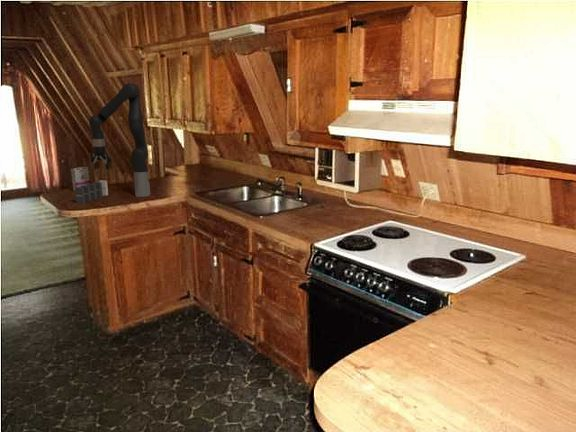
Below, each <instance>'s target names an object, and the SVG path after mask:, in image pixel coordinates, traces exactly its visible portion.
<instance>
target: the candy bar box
mask: <svg viewBox="0 0 576 432" xmlns="http://www.w3.org/2000/svg"><path fill="white" fill-rule="evenodd" d="M89 170H90V169H89V167H88V166H79V167H74V168H70V173H71V182H72V190H73V192H75V188H76V187H80V188H81V186H83V185H84V186H87V184H91V178H90V177H91V176H90V171H89Z"/></svg>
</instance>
